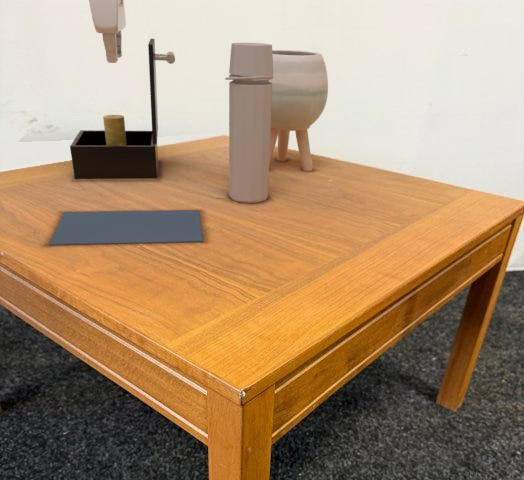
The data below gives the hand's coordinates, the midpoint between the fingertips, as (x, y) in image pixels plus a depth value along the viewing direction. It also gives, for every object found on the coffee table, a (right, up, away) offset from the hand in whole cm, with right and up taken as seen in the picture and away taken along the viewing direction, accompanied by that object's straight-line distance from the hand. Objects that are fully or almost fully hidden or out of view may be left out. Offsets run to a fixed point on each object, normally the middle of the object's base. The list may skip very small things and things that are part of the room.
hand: (115, 59), depth 100 cm
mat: (+6, -34, -14) cm, 37 cm away
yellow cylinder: (-3, -16, +13) cm, 20 cm away
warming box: (-3, -16, +13) cm, 21 cm away
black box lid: (+6, -3, +6) cm, 8 cm away
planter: (+32, -13, +21) cm, 40 cm away
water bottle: (+24, -25, +2) cm, 35 cm away
